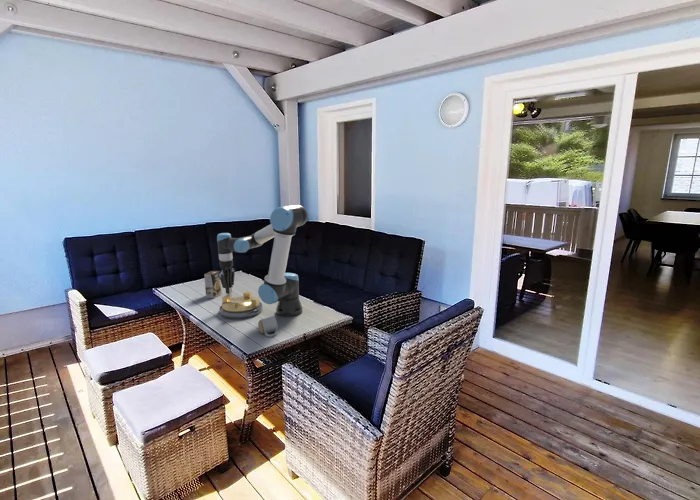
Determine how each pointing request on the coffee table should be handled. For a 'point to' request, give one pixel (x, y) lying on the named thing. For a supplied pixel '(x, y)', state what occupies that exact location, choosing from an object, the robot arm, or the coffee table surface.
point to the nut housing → (241, 315)
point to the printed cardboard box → (212, 284)
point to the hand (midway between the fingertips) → (229, 297)
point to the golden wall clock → (240, 303)
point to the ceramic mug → (268, 326)
